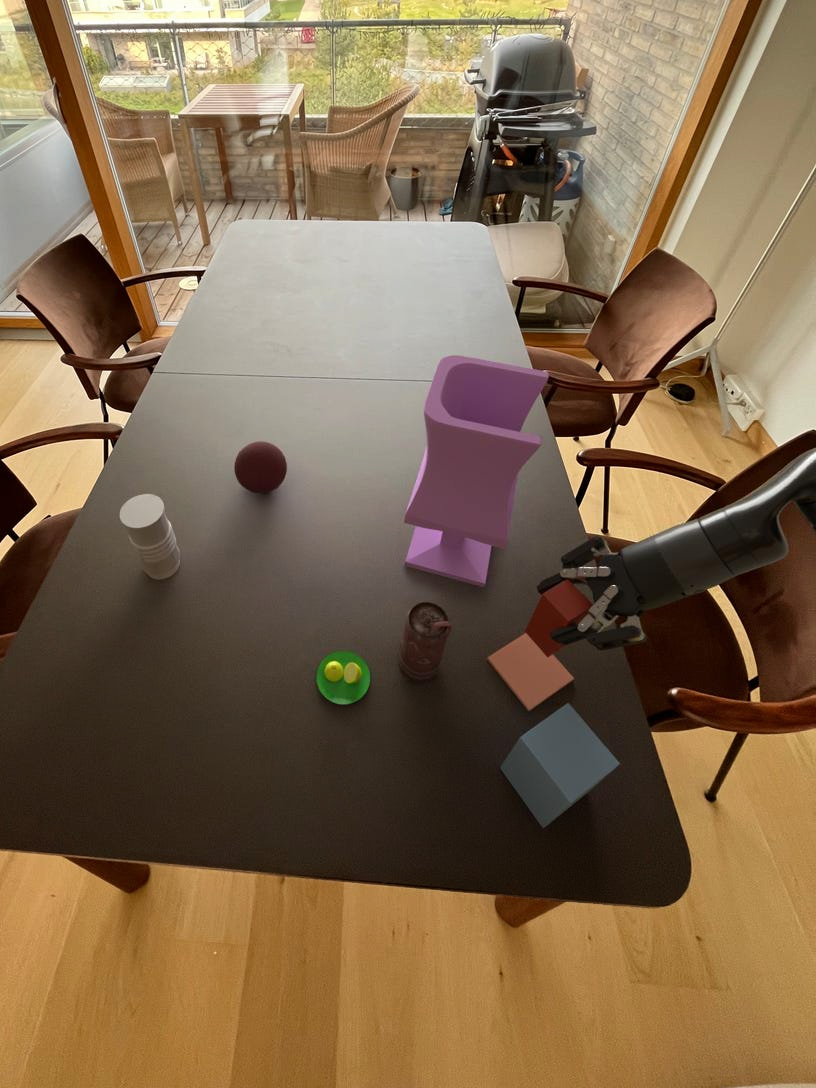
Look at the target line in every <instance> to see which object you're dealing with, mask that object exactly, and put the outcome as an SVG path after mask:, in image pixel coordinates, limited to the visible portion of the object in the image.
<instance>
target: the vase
mask: <svg viewBox="0 0 816 1088" xmlns="http://www.w3.org/2000/svg"><path fill="white" fill-rule="evenodd" d="M549 377H550V372H549V371H546V370H539V369H534V368H529V367H523V366H519V365H513V364H508V363H502V362H497V361H492V360H487V359H481V358H476V357H472V356H471V357H470V356H464V355H455V354H454V355H448V356H445V357H443V358H441V359H440V360H439V361H438V364H437V367H436V369H435V372H434V375H433V378H432V381H431V384H430V386H429V390H428V392H427V395H426V398H425V402H424V405H423V418H424V424H425V433H426V434H425V435H426V447H425V450H424V454H423V457H422V460H421V463H420V467H419V470H418V474H417V476H416V480H415V483H414V485H413V488H412V489H413V490H412V492H411V495H410V498H409V501H408V504H407V508H406V511H405V513H404V520H403V524H405V525H406V524H407V525H410V526H414V530H413V535H412V537H411V540H410V545H409V548H408V551H407V556H406V558H405V561H404V566H405V567H409V568H412V569H416V570H419V571H423V572H427V573H430V574H434V575H437V576H441V577H445V578H449V579H452V580H455V581H460V582H463V583H467V584H470V585H474V586H477V587H481V588H485V585H486V582H487V581H486V580H487V575H488V569H489V563H490V557H491V552H492V547H496V548H500V549H504V550H506V548H507V544H508V542H509V537H510V529H511V522H512V516H513V515H512V514H513V508H514V501H515V494H516V489H517V488H516V487H517V482H518V476H519V473H520V471H521V469H522V468H523V467H524V466H525V465H526V463H527V462H528V461H529V460H530V459H531V457H532V456H533V455H534V454H535V453H536V452H537V451H538V450H539V449H540V447H541V446H542V438H543V437H542V436H541V435H536V434H532V433H527V432H521V431H522V428H523V427H524V424H525V422H526V419H527V417H528V415H529V413H530V411H531V410H532V408H533V406H534V404H535V403H536V401H537V399H538V398H539V396H540V395H541V392H542V391H543V390H544V388H545V386H546V385H547V383H548V380H549Z"/></svg>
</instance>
